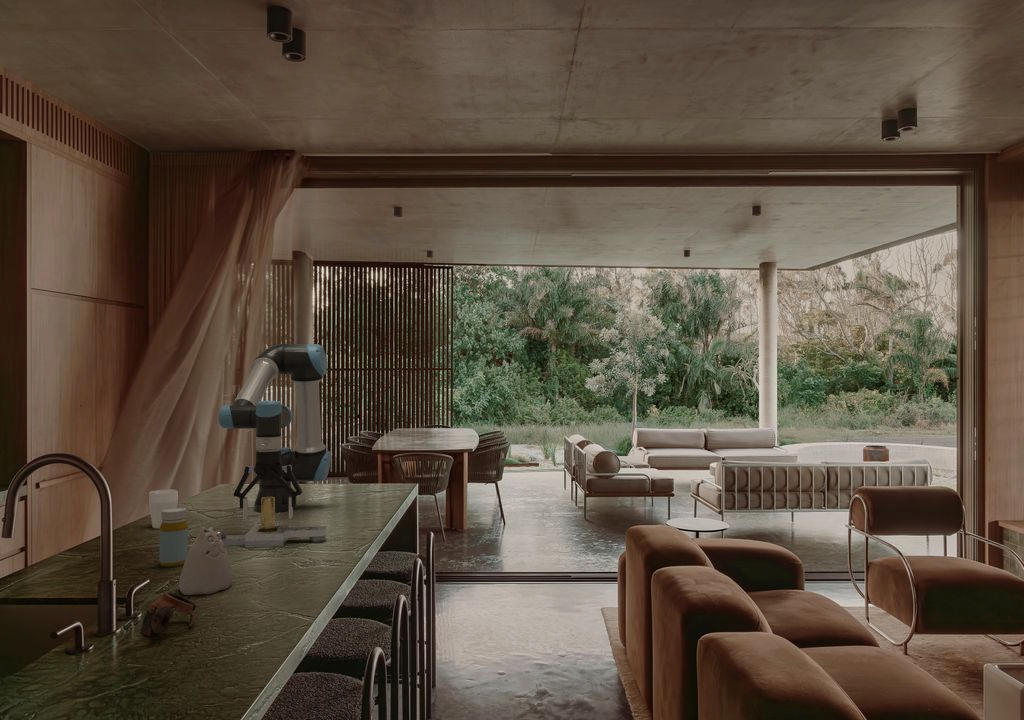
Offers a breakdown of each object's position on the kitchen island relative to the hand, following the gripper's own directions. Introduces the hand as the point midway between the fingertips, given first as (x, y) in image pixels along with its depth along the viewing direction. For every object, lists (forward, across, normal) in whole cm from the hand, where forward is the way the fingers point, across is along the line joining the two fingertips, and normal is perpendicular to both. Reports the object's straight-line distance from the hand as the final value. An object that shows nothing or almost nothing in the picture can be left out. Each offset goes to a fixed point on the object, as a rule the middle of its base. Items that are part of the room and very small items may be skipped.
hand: (268, 518), depth 214 cm
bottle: (+8, -21, -21) cm, 31 cm away
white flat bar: (+8, 0, 0) cm, 8 cm away
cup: (+8, -40, +28) cm, 49 cm away
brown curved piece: (+8, -6, -72) cm, 73 cm away
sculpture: (+8, -6, -44) cm, 45 cm away
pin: (+8, 0, 0) cm, 8 cm away
